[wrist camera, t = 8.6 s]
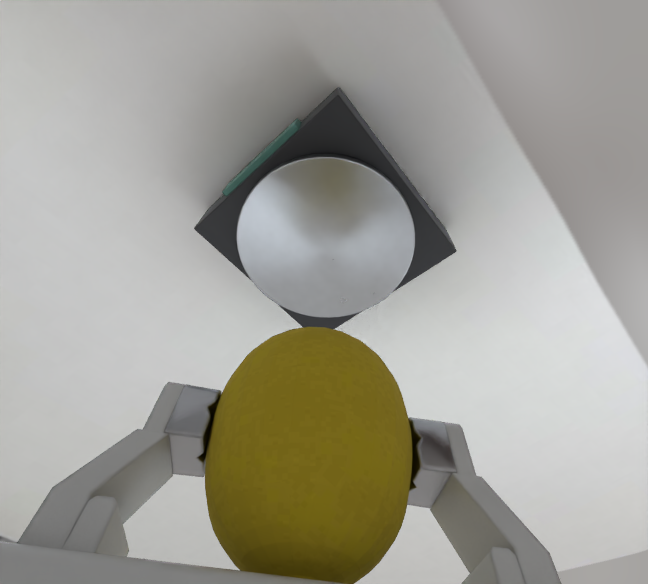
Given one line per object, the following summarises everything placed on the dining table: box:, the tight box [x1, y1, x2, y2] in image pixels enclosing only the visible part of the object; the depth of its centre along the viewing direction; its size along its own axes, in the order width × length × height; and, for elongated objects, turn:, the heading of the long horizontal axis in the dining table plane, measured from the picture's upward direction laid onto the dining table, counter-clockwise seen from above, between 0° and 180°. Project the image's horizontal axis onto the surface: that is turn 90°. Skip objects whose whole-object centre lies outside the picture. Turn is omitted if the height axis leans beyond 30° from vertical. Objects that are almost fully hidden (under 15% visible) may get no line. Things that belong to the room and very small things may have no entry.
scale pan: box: [236, 154, 415, 318], centre depth 21 cm, size 9×9×1 cm
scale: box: [194, 87, 456, 329], centre depth 22 cm, size 10×10×3 cm
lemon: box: [205, 327, 412, 584], centre depth 11 cm, size 6×6×8 cm
